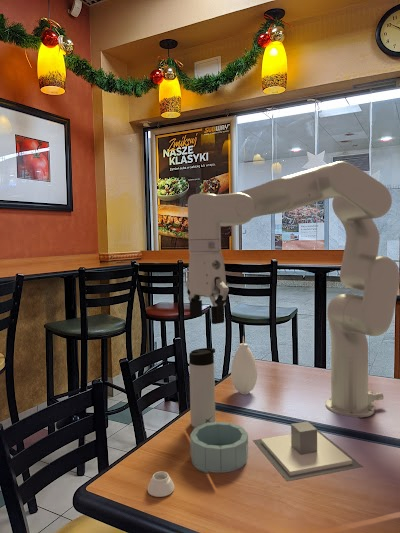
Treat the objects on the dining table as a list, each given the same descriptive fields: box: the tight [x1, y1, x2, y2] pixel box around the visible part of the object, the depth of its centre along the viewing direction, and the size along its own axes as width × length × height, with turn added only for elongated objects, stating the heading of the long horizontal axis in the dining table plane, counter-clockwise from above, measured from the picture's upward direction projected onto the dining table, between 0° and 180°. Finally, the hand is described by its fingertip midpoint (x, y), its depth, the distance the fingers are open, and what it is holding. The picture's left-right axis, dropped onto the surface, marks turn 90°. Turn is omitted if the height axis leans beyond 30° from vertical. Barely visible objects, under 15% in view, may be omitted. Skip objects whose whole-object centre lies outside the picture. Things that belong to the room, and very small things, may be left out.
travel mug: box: [188, 347, 216, 429], centre depth 104 cm, size 6×7×20 cm
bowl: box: [189, 421, 249, 475], centre depth 88 cm, size 12×12×6 cm
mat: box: [252, 429, 364, 482], centre depth 89 cm, size 17×17×1 cm
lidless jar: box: [147, 471, 175, 498], centre depth 78 cm, size 5×3×5 cm
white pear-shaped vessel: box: [230, 335, 258, 395], centre depth 126 cm, size 8×8×18 cm
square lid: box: [260, 421, 352, 476], centre depth 89 cm, size 14×14×6 cm
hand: (206, 319), depth 97 cm, fingers open, 9 cm apart
